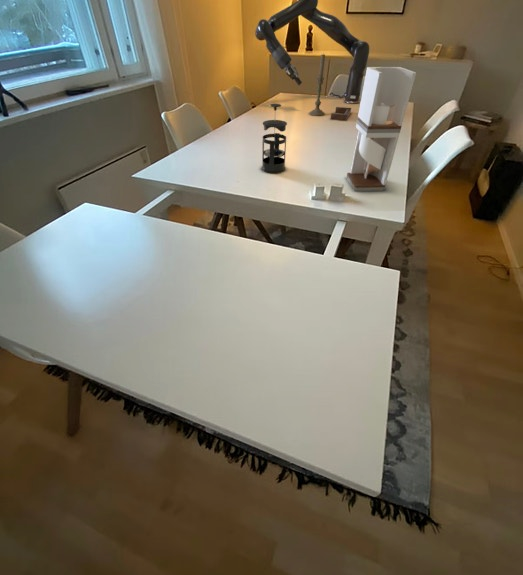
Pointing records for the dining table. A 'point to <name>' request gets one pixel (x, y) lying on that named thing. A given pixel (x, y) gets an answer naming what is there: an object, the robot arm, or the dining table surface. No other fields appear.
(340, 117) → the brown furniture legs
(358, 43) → the robot arm
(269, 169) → the french press
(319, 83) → the candlestick holder
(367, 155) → the white architectural model
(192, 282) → the dining table surface
